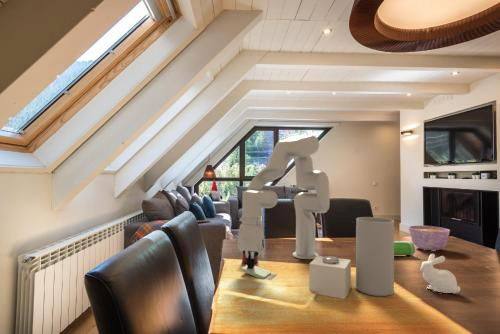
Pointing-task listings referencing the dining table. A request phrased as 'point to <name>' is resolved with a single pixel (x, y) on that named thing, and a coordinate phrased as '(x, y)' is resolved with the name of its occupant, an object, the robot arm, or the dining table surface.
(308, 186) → the robot arm
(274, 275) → the hinge foot
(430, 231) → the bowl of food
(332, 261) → the silver knob
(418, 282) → the dining table surface
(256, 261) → the soda can
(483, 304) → the dining table surface
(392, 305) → the dining table surface
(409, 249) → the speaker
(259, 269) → the plate
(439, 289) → the rabbit
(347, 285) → the hitch block
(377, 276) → the cylinder vase
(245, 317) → the dining table surface
